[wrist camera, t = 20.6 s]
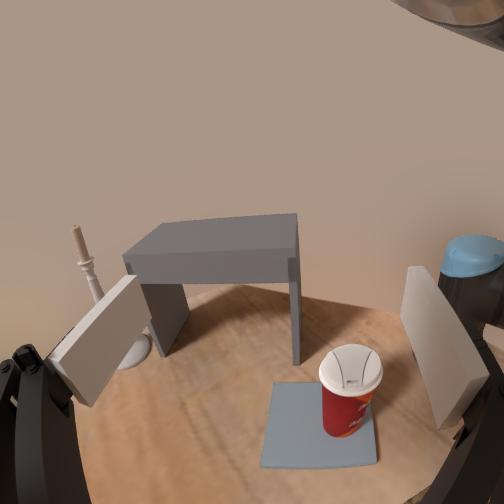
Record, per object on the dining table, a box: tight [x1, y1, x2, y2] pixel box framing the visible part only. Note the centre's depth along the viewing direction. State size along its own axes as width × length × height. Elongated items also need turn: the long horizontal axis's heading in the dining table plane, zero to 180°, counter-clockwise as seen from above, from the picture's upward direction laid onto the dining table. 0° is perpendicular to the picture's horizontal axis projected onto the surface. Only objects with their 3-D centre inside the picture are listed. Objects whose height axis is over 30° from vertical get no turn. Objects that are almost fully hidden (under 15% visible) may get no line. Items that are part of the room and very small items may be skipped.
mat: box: [260, 382, 377, 469], centre depth 35 cm, size 16×16×1 cm
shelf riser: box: [122, 213, 302, 366], centre depth 53 cm, size 28×16×24 cm, turn 81°
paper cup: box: [319, 344, 383, 438], centre depth 31 cm, size 8×8×14 cm
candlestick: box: [71, 226, 150, 371], centre depth 49 cm, size 13×13×30 cm
